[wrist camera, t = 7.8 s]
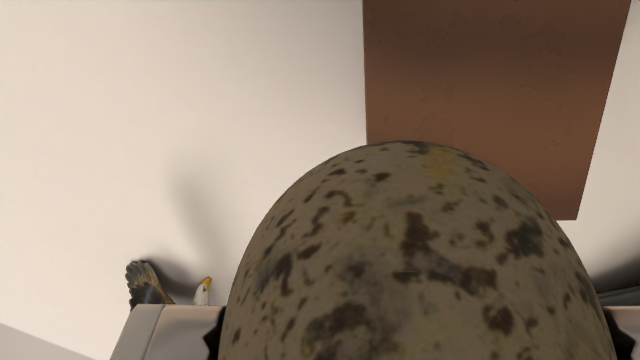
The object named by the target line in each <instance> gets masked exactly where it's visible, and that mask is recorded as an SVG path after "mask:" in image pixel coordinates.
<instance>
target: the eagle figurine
mask: <svg viewBox="0 0 640 360" xmlns="http://www.w3.org/2000/svg"><path fill="white" fill-rule="evenodd" d="M126 270H127V272H128V274H125V277H126V279H127V281H128V282H129V283H127V286H128V287H129V288H130V290H129V293H130V294H131V297H132V299H130V300H129V304H130V306H131V310H130V312H131V311H132V310H133V309H134V308H135V307H136V305H137V304H164V305H167V304H173V305H177V304H175V303H174V302H173V301H172V299H171V298H170V297H169V296H168V294H167V293H166V292H165V290H164V289H163V288H162V287H161V285H160V282H159V280H158V278H157V276H156V274H155V272H154V270H153V268H152V267H151V265H150V264H149V263H148V262H147V263H145V264H144V263H142V262H141V261H139V262H138V263H137V264H136V263H134V262H131V263H130V266H127V267H126ZM210 281H211V278H206V279H205V280H204V282H203V283H202V284H201V285H200V286H199V287H198V289H197V291H196V294H195V298H194V302H193V305H207V306H209V299H208V292H209V283H210Z"/></svg>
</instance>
